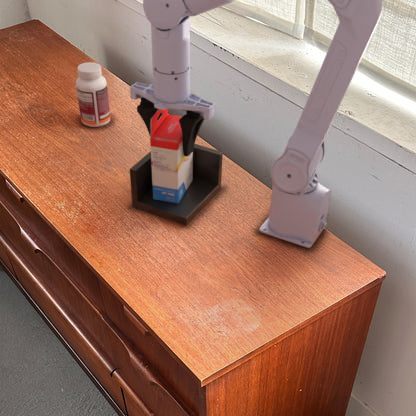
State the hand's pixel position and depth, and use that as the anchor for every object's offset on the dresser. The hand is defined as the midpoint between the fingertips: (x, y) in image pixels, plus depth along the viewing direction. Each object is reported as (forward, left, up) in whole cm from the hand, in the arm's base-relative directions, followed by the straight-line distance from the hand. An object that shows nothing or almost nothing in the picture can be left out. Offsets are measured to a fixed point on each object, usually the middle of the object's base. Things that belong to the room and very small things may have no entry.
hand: (172, 148), depth 106 cm
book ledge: (-1, 0, -9) cm, 9 cm away
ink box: (0, 0, -8) cm, 8 cm away
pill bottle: (+28, -16, -10) cm, 34 cm away
